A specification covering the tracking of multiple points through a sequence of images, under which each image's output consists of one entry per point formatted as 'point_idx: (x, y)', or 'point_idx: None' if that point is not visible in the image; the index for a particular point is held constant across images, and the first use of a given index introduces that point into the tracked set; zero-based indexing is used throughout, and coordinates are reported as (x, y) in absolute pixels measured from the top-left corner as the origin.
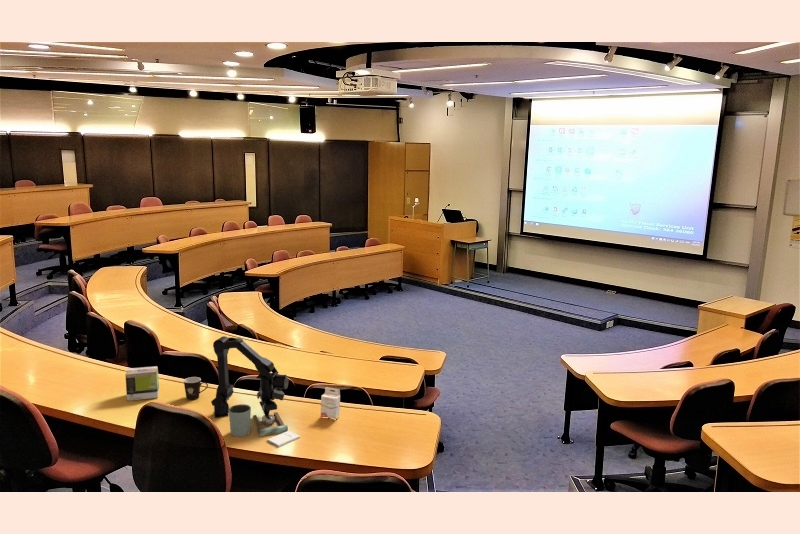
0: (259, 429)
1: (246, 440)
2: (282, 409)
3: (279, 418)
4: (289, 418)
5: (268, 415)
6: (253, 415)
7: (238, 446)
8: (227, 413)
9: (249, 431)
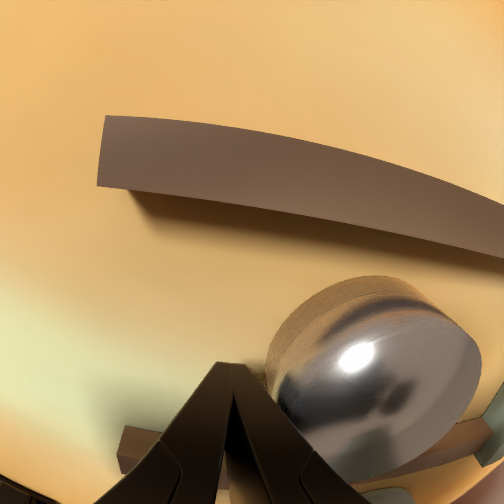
0: (486, 464)
1: (451, 483)
2: (13, 13)
3: (444, 208)
4: (387, 13)
5: (335, 416)
6: (123, 471)
7: (458, 495)
8: (36, 500)
9: (403, 495)
